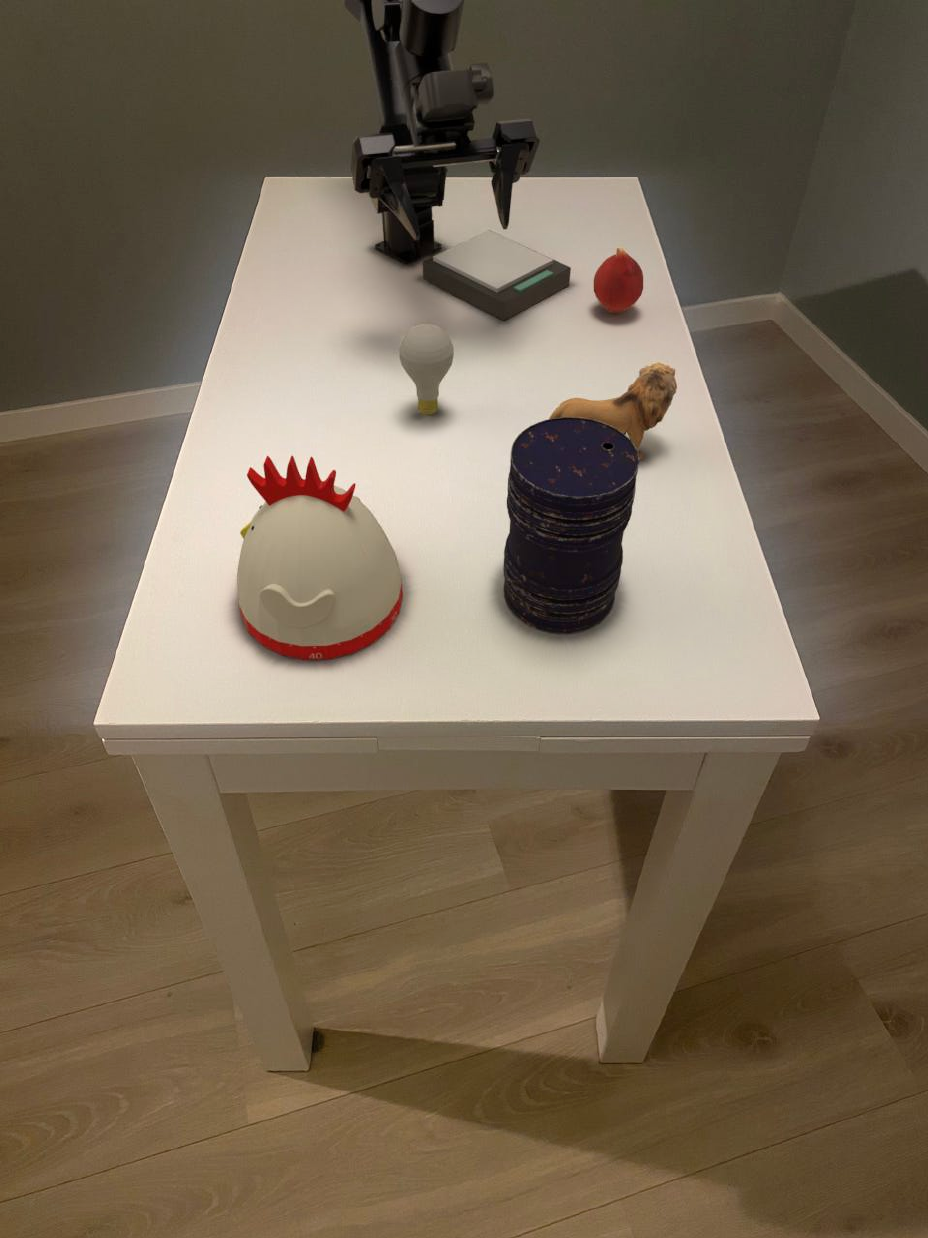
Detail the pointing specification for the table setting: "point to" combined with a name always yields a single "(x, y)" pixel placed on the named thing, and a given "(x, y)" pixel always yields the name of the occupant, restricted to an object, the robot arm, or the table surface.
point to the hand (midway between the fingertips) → (462, 232)
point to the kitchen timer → (315, 567)
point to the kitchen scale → (496, 274)
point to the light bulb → (426, 362)
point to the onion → (618, 282)
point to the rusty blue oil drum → (567, 522)
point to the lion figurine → (629, 404)
